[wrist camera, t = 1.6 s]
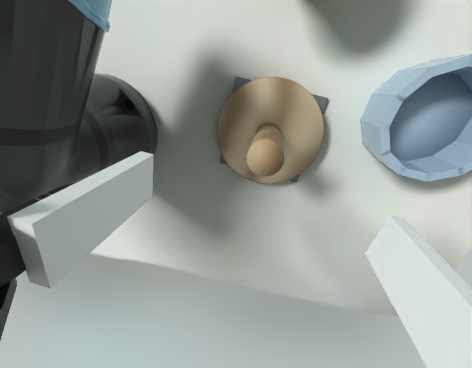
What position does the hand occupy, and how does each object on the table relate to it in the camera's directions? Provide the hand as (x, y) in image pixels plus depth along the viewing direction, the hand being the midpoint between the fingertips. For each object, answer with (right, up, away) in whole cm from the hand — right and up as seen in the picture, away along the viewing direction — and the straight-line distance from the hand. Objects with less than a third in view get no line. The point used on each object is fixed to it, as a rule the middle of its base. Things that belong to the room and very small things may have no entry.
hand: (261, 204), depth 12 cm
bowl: (+21, +9, +14) cm, 27 cm away
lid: (+3, +8, +18) cm, 20 cm away
